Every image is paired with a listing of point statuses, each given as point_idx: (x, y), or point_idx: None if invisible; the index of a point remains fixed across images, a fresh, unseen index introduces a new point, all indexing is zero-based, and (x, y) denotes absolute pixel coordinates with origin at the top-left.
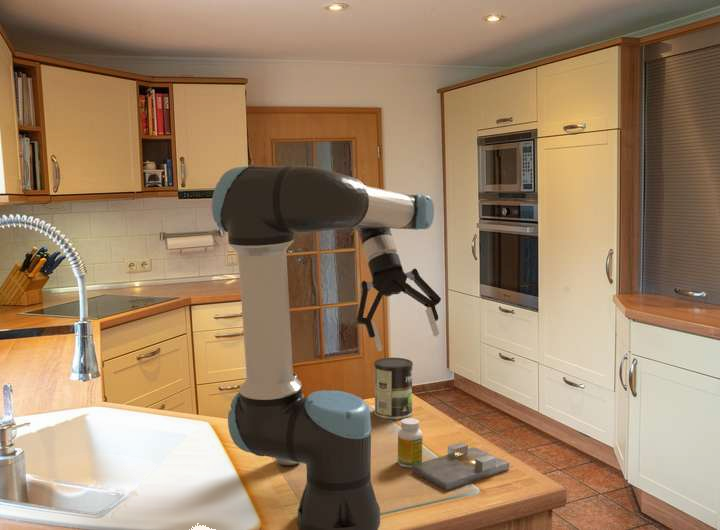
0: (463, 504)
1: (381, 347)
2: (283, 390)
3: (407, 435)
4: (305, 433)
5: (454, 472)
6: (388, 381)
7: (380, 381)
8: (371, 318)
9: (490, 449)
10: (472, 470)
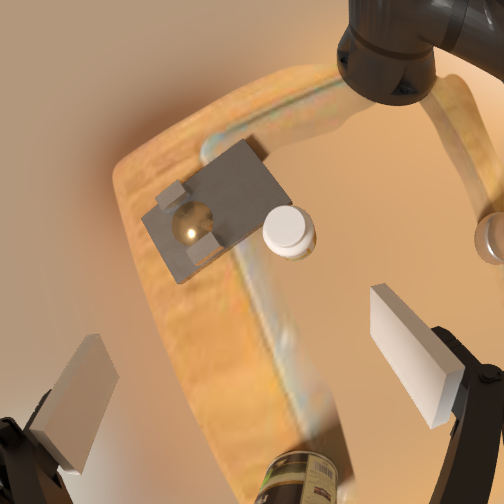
0: (230, 110)
1: (375, 288)
2: None
3: (294, 206)
4: None
5: (225, 176)
6: (309, 494)
7: (327, 500)
8: (470, 390)
9: (155, 298)
10: (197, 185)
